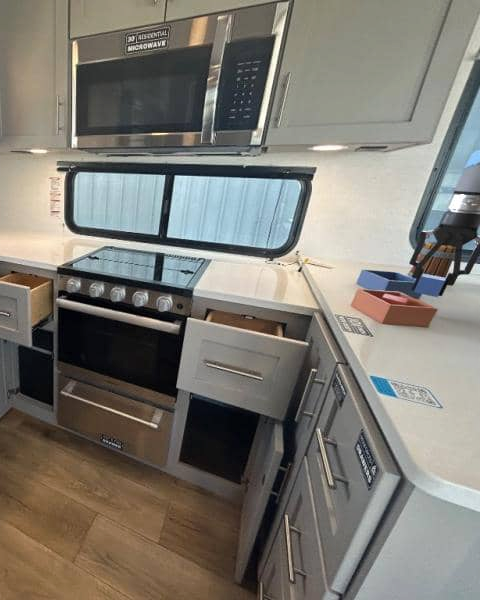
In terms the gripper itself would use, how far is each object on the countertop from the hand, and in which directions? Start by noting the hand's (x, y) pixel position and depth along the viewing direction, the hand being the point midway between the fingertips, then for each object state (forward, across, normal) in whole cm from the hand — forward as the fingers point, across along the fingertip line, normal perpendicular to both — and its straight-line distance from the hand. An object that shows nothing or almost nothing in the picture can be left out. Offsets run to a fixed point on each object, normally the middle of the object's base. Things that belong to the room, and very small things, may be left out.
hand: (426, 292), depth 98 cm
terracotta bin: (+6, -5, -15) cm, 17 cm away
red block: (+5, -5, -15) cm, 17 cm away
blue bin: (+6, -9, +15) cm, 18 cm away
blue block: (0, 0, 0) cm, 0 cm away
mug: (+6, -2, +45) cm, 46 cm away
